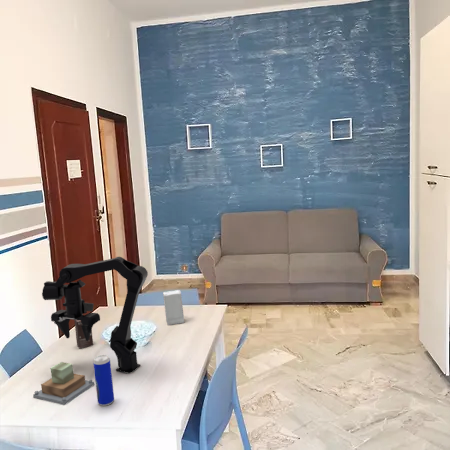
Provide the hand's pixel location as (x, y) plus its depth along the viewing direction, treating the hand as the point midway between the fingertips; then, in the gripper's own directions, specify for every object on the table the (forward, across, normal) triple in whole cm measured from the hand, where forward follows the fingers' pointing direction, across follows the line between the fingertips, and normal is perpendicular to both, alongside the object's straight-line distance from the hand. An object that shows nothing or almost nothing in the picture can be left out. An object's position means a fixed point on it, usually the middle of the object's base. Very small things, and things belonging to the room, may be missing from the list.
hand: (77, 339), depth 172 cm
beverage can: (+12, -25, +16) cm, 32 cm away
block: (+8, -6, +15) cm, 18 cm away
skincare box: (+12, -10, -53) cm, 55 cm away
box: (+12, +14, -19) cm, 27 cm away
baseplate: (+12, -6, +15) cm, 20 cm away
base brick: (+12, -6, +15) cm, 20 cm away
